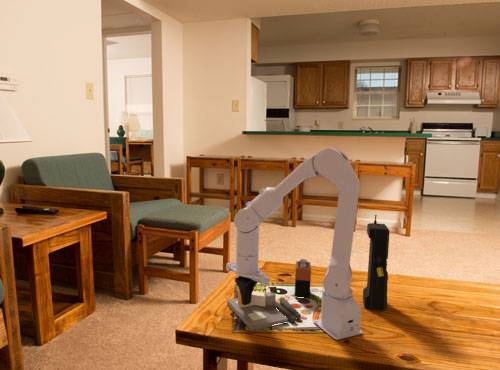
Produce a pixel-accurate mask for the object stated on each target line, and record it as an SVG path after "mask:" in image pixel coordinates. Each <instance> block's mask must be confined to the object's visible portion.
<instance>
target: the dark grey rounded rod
mask: <svg viewBox="0 0 500 370" xmlns="http://www.w3.org/2000/svg"><path fill="white" fill-rule="evenodd" d="M279 300H280V301H279V303H280V302H281V303H282V304H283V305H284V306H285V307H286V308H287V309H288V311H289V312H290V313H291V314H292V315H294V316H295V317H296V318H297V319H296V320H300V319H301V318H302V315H301V313H300V312H299V311H298V310H297V309H296V308H295V307H294V306H293V305H292V304H291V303H290V302H288V300H287V299H285V298H284V297H279ZM281 303H280V304H281ZM282 304H281V305H282ZM283 305H282V306H283ZM284 306H283V307H284ZM285 307H284V308H285ZM286 308H285V309H286ZM287 309H286V310H287Z"/></svg>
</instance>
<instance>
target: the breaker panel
mask: <svg viewBox="0 0 500 370" xmlns="http://www.w3.org/2000/svg"><path fill="white" fill-rule="evenodd" d="M226 304H227V306H228V307H229V308H230V309H231V310H232V311H233V312H234V314H235V315H236V316H237V317H238V318H239V319H240V320H241V321H242V322H243V323H244V324H245V325H246V326H247V328H248V329H249V330H250V331H251V332H253V331H258V330H263V329H267V328H272V327H271V326H272V325H274V324H278V323H284V322H288V323H289V320H288V318H287V317H285V316H284V315H283V314H282V313H281V312H280V311H278V310H277V309H276V308H277V304H275V307H273V308H267V307H264V306H257V305H251V304H248V305H243V304H241V303H238V297H236V298H232V299H227V300H226Z"/></svg>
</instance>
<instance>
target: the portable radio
mask: <svg viewBox="0 0 500 370" xmlns="http://www.w3.org/2000/svg"><path fill="white" fill-rule="evenodd" d="M377 216H378V215H377V214H374V221H373V223H372V222H371V223H367V226H366V228H367V229H366V232H367V233H366V234H367V236H368V239H369V250H368V266H367V280H366V287H365V288H363V291H362V303H363V307H364V308H365V309H371V310H378V311H379V310H380V311H385V310H386V309H387V308H388V281H389V275H388V274H389V273H388V270H387V269H388V268H387V267H388V261H387V260H388V258H389V248H390V247H389V245H390V234H391V233H390V229H389V227H388V226H387V225H386V224H385V223H377Z"/></svg>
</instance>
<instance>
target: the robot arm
mask: <svg viewBox="0 0 500 370" xmlns="http://www.w3.org/2000/svg"><path fill="white" fill-rule="evenodd" d="M319 175H322V177H324V178H326V179H327V180H330V181H331V183H333V185H334V186H335V187H336V188H337V190H338V198H337V205H336V206H337V207H336V214H335V221H334V232H333V238H332V248H331V254H330V259H329V265H327V269H326V274H325V276H324V277H323V280H322V286H323V288H322V289H321V290H322V291H321V307H320V308H321V309H320V310H321V311H320V318H318V319H314V320H313V323H314V324H315V323H316V324H317V325H318V326H317V325H316V324H315V325H316V326H317V327H318V328H320V329H321V330H322V331H324V332H325V333H326V334H328V335H329V336H330V337H332V338H333V339H334V340H336V341H338V340H341V339H347V338H350V337H353V336H359V335H362V334H363V330H361V318H362V307H361V305H360V304H359V303H358V302H357V301H356V299H355V298H354V296H353V295H354V294H353V291H354V290H353V289H352V288H351V281H352V277H353V270H352V267H351V256H352V248H353V246H352V245H353V240H354V232H355V224H356V216H357V209H358V203H359V193H360V187H361V182H360V179H359V177H358V175H357V173H356V171H355V169H354V168H353V165H352V163H351V162H350V159H349V157H348V155H346V154H345V153H344V152H343V151H341V150H340V149H339V148H338V147H330V146H329V147H326V148H322V149H320V150H319V151H318V152H316V154H315V155H312V156H310V157H309V158H307V159H305V160H304V161H302V162H301V163H300V164H299V165H298V166H297V167H296V168H295V169H293V170H292V171H291V172H290V173H289V174H288V175H287V176H285V178H284V179H283V180H282V181H280V183H278V184H277V186H275V187H271V186H270V187H269V186H267V187H266V188H264V187H263V188H261V189H260V190H259V191H258V193H259V194H258V195H257V196H255V197H254V198H253V199H252V200H251V201H247V202H246V203H245V206H246V207H244V208H242V209H239V210H237V212H236V214H234V215H235V216H234V219H233V224H234V226H235V227H236V250H235V252H236V254H235V256H236V259H235V262H232V261H231V262H228V263H226V265H225V267H226V268H225V269H226V270H225V271H227V272H232V273H234V274H235V275H237V276H238V277H235V278H234V282H235V284H236V285H237V288H238V290H240V294H241V301H242V304H243V305H247V304H250V303H251V296H252V292H253V291H255V290H254V289H255V288H256V286H257V284H258V283H259V284H260V285H261V286H263V287H265V286H268V285H270V276H268V275H266V274H265V273H264V272H262V270H261V268H260V266H259V250H260V249H259V244H260V241H259V239H260V235H259V234H260V233H259V232H260V225H261V224H262V221H265V220H266V219H267V218H269V217H270V216H271V215H272V214H273V213H274V212H276V211H277V210H278V209H279V208H280V207H281V206H283V204H284V203H283V202H284V197H285V196H286V195H287V194H289V193H290V192H291V191H292V190H293V189H295V188H296V187H298V185H300V184H301V183H302V182H303V181H305V180H306V179H308V178H315V177H318V176H319Z"/></svg>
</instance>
